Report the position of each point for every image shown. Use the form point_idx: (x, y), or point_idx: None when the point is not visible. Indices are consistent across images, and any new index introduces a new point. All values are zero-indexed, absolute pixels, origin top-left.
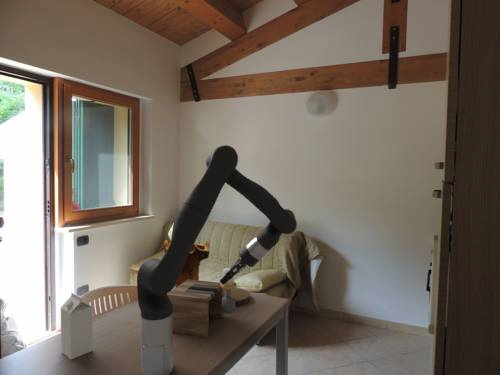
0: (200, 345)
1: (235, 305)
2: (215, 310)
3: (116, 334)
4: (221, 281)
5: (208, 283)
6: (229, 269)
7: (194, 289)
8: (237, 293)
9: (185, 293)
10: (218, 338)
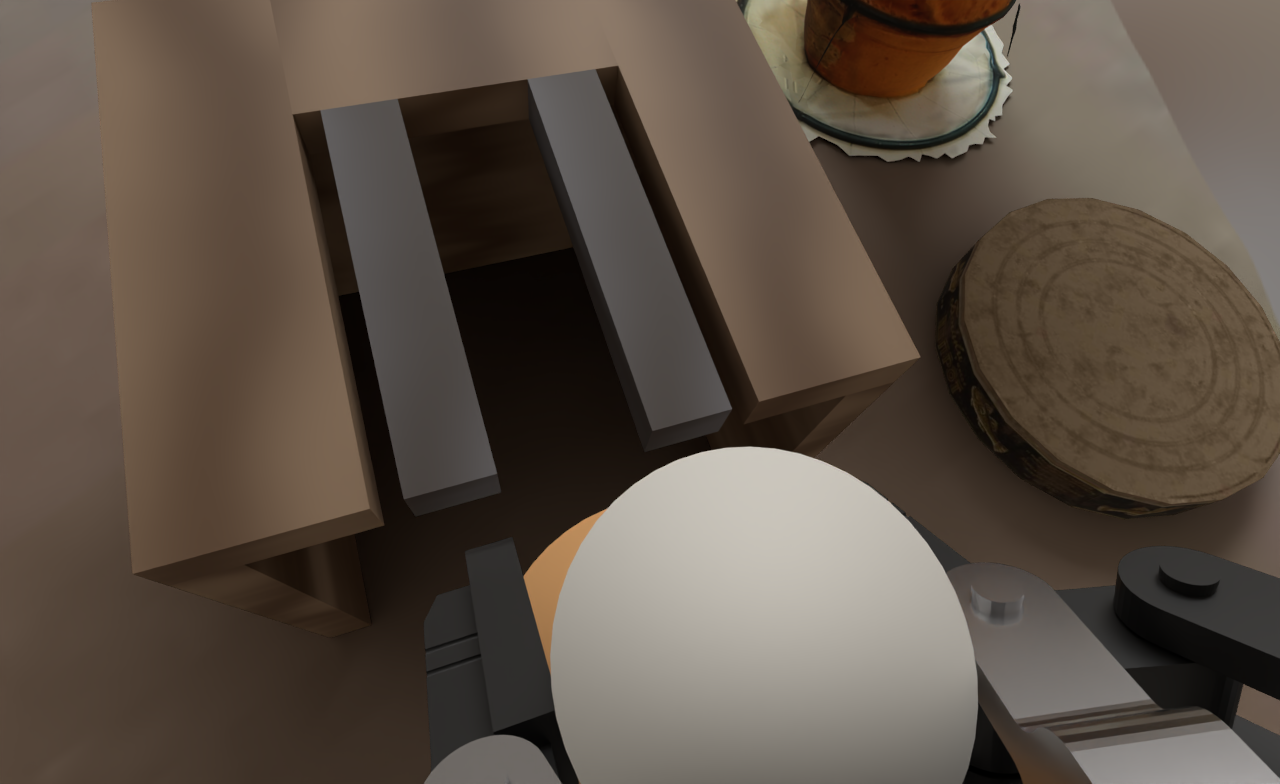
0: (155, 692)
1: (1010, 462)
2: (725, 426)
3: (83, 39)
4: (440, 623)
5: (751, 198)
6: (807, 677)
7: (541, 146)
8: (1169, 369)
9: (229, 163)
10: (358, 757)
